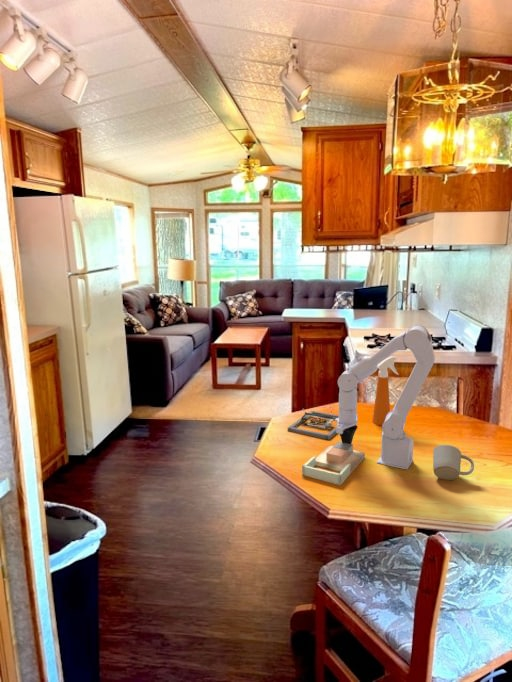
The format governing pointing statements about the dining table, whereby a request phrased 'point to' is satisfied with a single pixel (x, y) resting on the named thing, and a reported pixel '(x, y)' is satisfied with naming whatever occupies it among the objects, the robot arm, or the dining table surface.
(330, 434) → the gray open frame
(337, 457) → the tile terracotta
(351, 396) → the robot arm
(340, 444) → the tile slate
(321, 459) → the board
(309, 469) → the tray
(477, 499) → the dining table surface
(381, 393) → the spray bottle
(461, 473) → the ceramic mug
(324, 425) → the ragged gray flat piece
